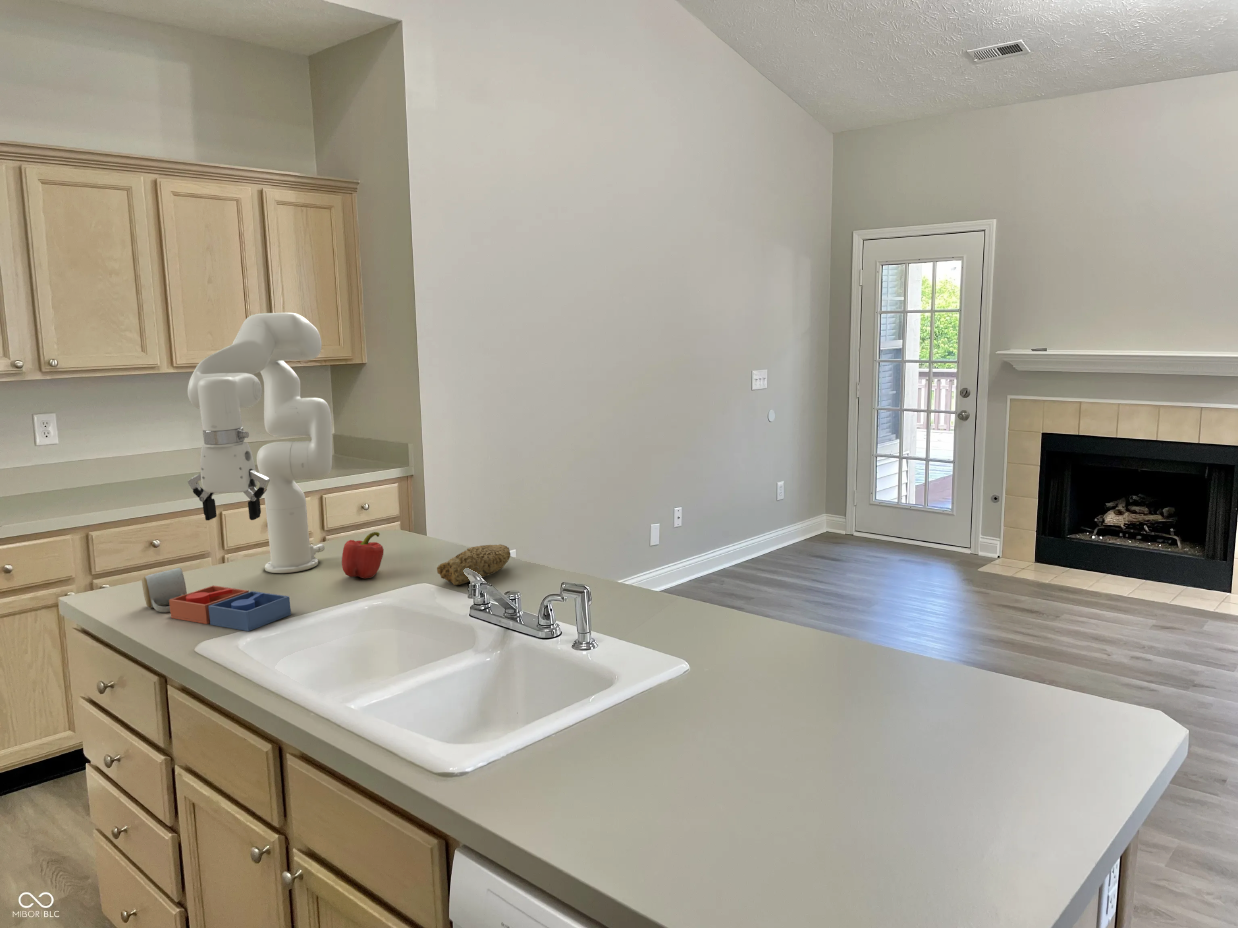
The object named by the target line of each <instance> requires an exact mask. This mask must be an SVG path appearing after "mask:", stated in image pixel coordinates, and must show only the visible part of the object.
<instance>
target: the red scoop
mask: <svg viewBox="0 0 1238 928" xmlns="http://www.w3.org/2000/svg"><path fill="white" fill-rule="evenodd" d="M228 588H229V589H225V590H220V591H215V592H211V593H206V592H199V593H193V594H190V595H187V596H186V602H193V603H199V604H205V605H206V604H208V603H210V600H209V598H211V597H216V596H220V595H225V594H229V593H233V591H232V589H231V588H232V587H228Z"/></svg>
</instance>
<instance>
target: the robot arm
mask: <svg viewBox="0 0 1238 928" xmlns="http://www.w3.org/2000/svg"><path fill="white" fill-rule="evenodd" d="M322 345H323V344H322V338H321V334H320V331H319V330H318V329H317V327H316V326H315V325H314V324H313V323H311V322H310V321H309V320H308V319H307V318H306V317H304V316H302V315H301V314H299V313H295V312H266V313H265V312H264V313H256V314H255V313H254V314H251V315H249V316H247V318H245V320H244V321H243V322H242V324H241V325H240V327H239V330H238V332H237V334H236V336H235V338H234V339H233V341H232V344H230V345H228V346H225V347H223V348H221V349H219V350H218V351H216V352H214V353H211V354H210V355H208V356H207V357H205V358H204V359H202V360H201V361H200V362H199V363H198V364H196V366H195V368H194V371H193V372H192V374H191V376H190V378H189V381H188V384H187V398H188V400H189V402H190V403H191V405H192V406H193V407H194V408H196V409H199V412H200V420H201V428H202V436H203V444H202V445H201V450H200V473H199V474H197V475H194V476H193V477H191V478H190V479H188V480H187V484H188V486H189V487H190V488H191V490H192V493H193V494H194V495H195V496H196V497H197V498H198V500H199V501H200V502H201V503H202V509H203V516H204V518H205V519H204V520H205V521H211V520H213V519H215V518H217V508H216V507H217V506H216V500H215V498H213V496H214V494H218V493H219V494H230V493H231V494H232V493H233V494H235V493H236V494H237V493H243V494H244V495H245V496H246V497H247V498H248V499H249V501H247V509H248V517H249V518H248V519H249V520H251V521H255V520H256V519H258V518H259V519H260V518H261V513H262V508H261V500H260V499H262V497H264V503H265V515H266V525H267V526H266V527H267V536H268V544H269V555H270V556H269V557H270V561H268V562H267V563H265V564H264V571H266V572H267V573H272V574H289V573H290V574H291V573H298V572H303V571H306V570H310V569H313V568H315V567H316V566H318V565H319V559H318V558H317V557H316V556H315V555H317V553H321V552H324V551H325V545H324V544H323V543H319V544H316V545H313V544H311V541H310V532H309V530H310V529H309V521H308V520H309V518H308V509H307V498H306V494H305V493H304V491H303V489H302V488H301V487H300V486H299V485H298V484H297V482H296V481H299V480H300V481H301V480H319V479H324V478H326V477H328V476H329V475H330V473H331V472H332V467H333V466H332V465H333V421H332V419H333V418H332V413H331V412H332V411H331V408H330V405H329V404H328V402H327V401H326V400H325V399H323V398H319V397H301V380H300V378H299V376H298V375H297V373H296V372H295V371H294V369H292V367H291V366H289V364H288V363H286V362H287V361H288V362H289V361H290V362H291V361H311V360H314V359H316V358H318V356H319V355H320V354H321V351H322ZM258 373H260V374H261V377H262V381H263V386H262V384H261V381H260V380H259V378H258V377H257V376H256V374H258ZM262 395H263V423H264V424H263V425H264V429H265V431H266V433H267V434H268V435H270V436H272V437H276V438H295V437H310V439H311V440H300V441H299V440H289V441H274V442H269V443H266V444H264V445H263V446H261V447H260V448H259V449H258V451H257V452H256V464H255V460H254V456H253V452H252V449H251V446H250V444H249V442H247V441H245V439H248V438H249V437H250V432H249V431H245V430H244V427H243V420H242V411H241V409H250V408H253V407H254V406H257V404H258V403H259V402H260V401H261V398H262ZM256 465H257V466H256ZM256 467H257V468H256ZM256 469H258V472H257V470H256ZM200 482H201V486H200ZM258 483H259V486H258ZM257 486H258V488H256V487H257Z"/></svg>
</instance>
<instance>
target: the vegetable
mask: <svg viewBox="0 0 1238 928" xmlns="http://www.w3.org/2000/svg"><path fill="white" fill-rule="evenodd" d="M380 535H381V534H380V532H378V531H373V532H370V533H369V534H367V535H366V537H365V538H364V539H363V540H354V539H350V540H347V541H346V542H345V543H344V545H343V549H342V555H341V568H342V571H343V573H344V574H345V576H348V577H350V578H354V577H359V578H360V579H370V578H373V577H374V576H375V575H377V573H378V572H379V569H380V568H381V563H382V560H383V557H384V552H385V551H384V547H383V545H382V544H381V543H379V542H377V541H376V542H375V541H372V542H371V541H370V540H371V539H372V538H373V537H375V536H376V537H377V538H378V537H380Z"/></svg>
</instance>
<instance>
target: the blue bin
mask: <svg viewBox="0 0 1238 928" xmlns="http://www.w3.org/2000/svg"><path fill="white" fill-rule="evenodd" d="M257 593H263V597H262V598H260V599H258V600H257V601H255V608H254V609H251V610H248V611H243V610H237V609H232V607H231V603H233V602H235V601H238V600H243V599H249V598H250V597H252V596H254V595H255V594H257ZM290 599H291V598H290V596H289V595H283V594H276V593H270V592H263V591H255V590H250V591H249V592H248V593H245V594H242V595H239V596H236V597H233V598H230V599H227V600H224V601H221V602H219V603H216V604H213V605H210V606H208V607H209V616H210V623H209V624H210V626H214V627H215V626H216V627H222V628H227V629H232V630H239V631H244V632H251V631H253V630H255V629H256V630H257V629H258V628H260V627H264V626H267V625H268V624H271V623H274V622H276V621H279V620H281V619H283V618H286V617H289V616H291V615H292V610H291V600H290Z"/></svg>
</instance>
